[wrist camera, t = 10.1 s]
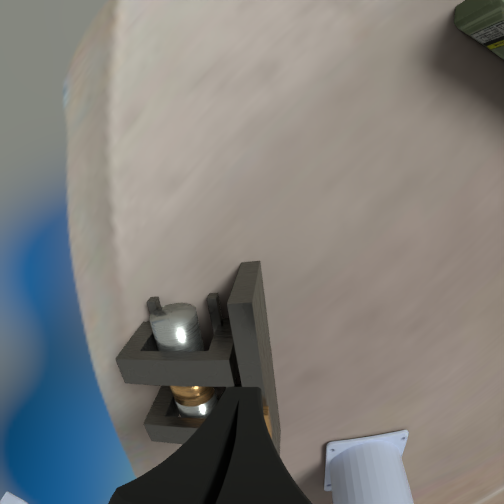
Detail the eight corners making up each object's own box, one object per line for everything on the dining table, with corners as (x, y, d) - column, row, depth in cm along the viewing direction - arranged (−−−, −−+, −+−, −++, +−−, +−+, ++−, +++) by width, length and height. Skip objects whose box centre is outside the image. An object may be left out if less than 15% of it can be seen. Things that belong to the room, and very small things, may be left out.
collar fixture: (287, 484, 28) (285, 534, 22) (204, 482, 29) (192, 529, 23) (261, 260, 21) (252, 310, 14) (129, 272, 22) (80, 316, 16)
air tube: (233, 432, 24) (205, 453, 22) (208, 416, 26) (181, 434, 24) (205, 310, 21) (166, 330, 19) (177, 299, 23) (140, 316, 21)
